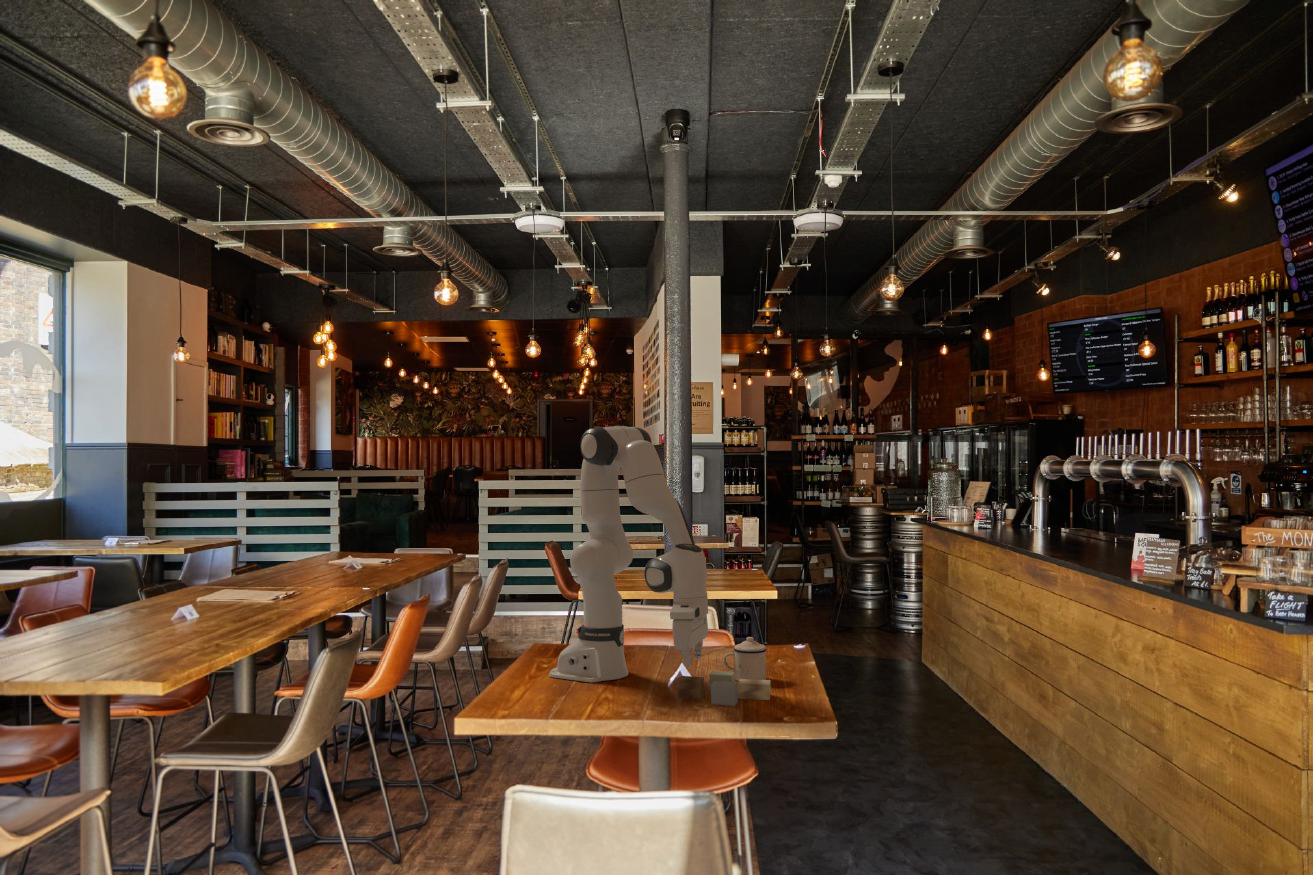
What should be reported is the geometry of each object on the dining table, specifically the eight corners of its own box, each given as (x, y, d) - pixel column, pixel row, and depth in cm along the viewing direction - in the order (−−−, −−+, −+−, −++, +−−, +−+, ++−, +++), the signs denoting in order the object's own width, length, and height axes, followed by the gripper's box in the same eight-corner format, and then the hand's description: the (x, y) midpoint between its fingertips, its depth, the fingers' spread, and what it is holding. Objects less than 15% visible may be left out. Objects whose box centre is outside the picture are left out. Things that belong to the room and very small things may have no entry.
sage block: (709, 693, 224) (709, 674, 225) (712, 690, 228) (712, 671, 228) (731, 695, 223) (731, 675, 223) (734, 691, 226) (734, 672, 226)
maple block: (738, 699, 219) (738, 683, 219) (739, 694, 224) (739, 678, 224) (769, 700, 217) (769, 684, 217) (770, 695, 222) (770, 680, 222)
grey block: (711, 704, 214) (711, 684, 214) (714, 700, 217) (714, 680, 217) (734, 706, 212) (734, 685, 212) (737, 702, 215) (737, 682, 216)
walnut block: (678, 698, 220) (677, 678, 220) (681, 695, 223) (681, 675, 223) (700, 700, 218) (700, 680, 218) (704, 696, 221) (704, 677, 221)
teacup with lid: (767, 676, 242) (767, 634, 242) (766, 684, 233) (765, 641, 233) (725, 674, 244) (724, 633, 244) (722, 682, 235) (721, 640, 235)
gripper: (689, 601, 232) (692, 652, 231) (667, 613, 212) (669, 669, 212) (712, 601, 230) (714, 653, 229) (692, 613, 210) (694, 670, 210)
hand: (693, 661), depth 220 cm, fingers open, 8 cm apart
